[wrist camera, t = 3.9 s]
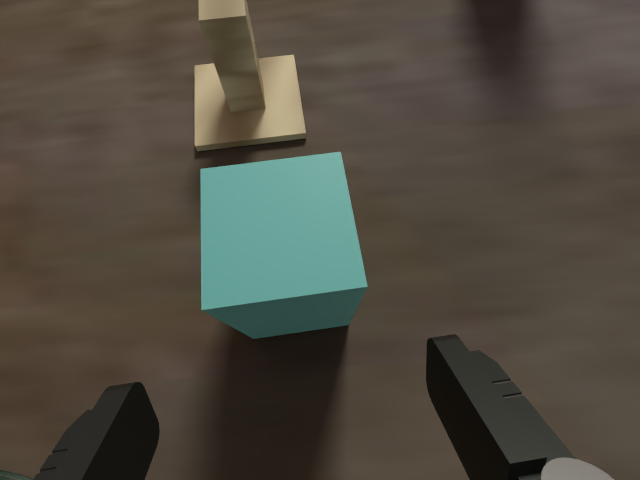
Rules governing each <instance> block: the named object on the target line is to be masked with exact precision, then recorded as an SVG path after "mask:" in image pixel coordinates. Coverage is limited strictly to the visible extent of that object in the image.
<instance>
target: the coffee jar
mask: <svg viewBox="0 0 640 480" xmlns="http://www.w3.org/2000/svg"><path fill="white" fill-rule="evenodd" d="M0 480H33V479H32V478H28V477H25V476H22V475H19V474H14V473H11V472H7V471H2V470H0Z"/></svg>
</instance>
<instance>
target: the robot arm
mask: <svg viewBox="0 0 640 480" xmlns="http://www.w3.org/2000/svg"><path fill="white" fill-rule="evenodd" d="M426 383H427V388H428V392H429V396H430V399H431V401H432V403H433V405H434V407H435V409H436V411H437V414H438V416H439V418H440V420H441V422H442V424H443V426H444V428H445V430H446V432H447V434H448V436H449V438H450V440H451V442H452V444H453V446H454V448H455V450H456V452H457V454H458V456H459V458H460V460H461V463H462V465H463V467H464V469H465V471H466V473H467V475H468V477H469V479H470V480H614V479H613V478H611V477H610V476H609V475H608V474H606V473H605V472H603V471H602V470H600V469H598V468H597V467H595V466H593V465H591V464H589V463H586V462H584V461H581V460H578V459H576V458H575V457H574V456H573V455H572V454H571V452H570V451H569V450H568V449H567V448H566V446H565V445H564V444H563V443H562V442H561V440H560V439H559V438H558V437H557V435H556V434H555V433H554V432H553V431H552V429H551V428H550V427H549V426H548V424H547V423H546V422H545V421H544V419H543V418H542V417H541V416H540V415H539V413H538V412H537V411H536V410H535V408H534V407H533V406H532V405H531V404H530V402H529V401H528V400H527V399H526V397H525V396H522V394H521V391H520V390H519V389H518V388H517V386H516V385H515V384H514V383H513V382H511V380H510V378H509V377H508V375H507V374H506V373H505V372H504V370H503V369H502V368H501V367H500V365H499V364H498V363H497V362H495V361H494V360H493V359H491V358H490V357H488V356H487V355H485V354H484V353H482V352H481V351H479V350H478V351H472V352H469V350H468V349H467V348H466V346H465V345H464V344H463V342H462V341H461V340H460V338H459V337H458V336H457V335H447V336H441V337H434V338H429V339H428V340H427V361H426ZM158 440H159V423H158V419H157V417H156V414H155V412H154V409H153V407H152V405H151V402H150V400H149V397H148V395H147V393H146V390H145V388H144V386H143V384H142V383H140V382H134V383H128V384H121V385H115V386H110V387H108V388H107V389H106V390H105V391H104V392H103V394H102V395H101V397H100V398H99V400H98V402H97V403H96V405H95V406H94V408H93V410H87V411H86V412H85V413H84V414H82V415H81V416H80V417H79V418H78V419H77V420H76V421H75V422H74V423H73V424H72V425H71V426H70V427H69V428H68V429H67V430H66V431H65V433H64V434H63V436H62V437H61V439H60V440H59V442H58V443H57V445H56V446H55V448H54V449H53V451H52V452H53V453H52V455H49V457H48V458H47V460H46V461H45V463H44V464H43V466H42V467H41V469H40V473H39V474H37V475H36V476H35V478H34V479H33V480H145V477H146V474H147V472H148V469H149V466H150V463H151V461H152V458H153V455H154V453H155V450H156V447H157V444H158Z"/></svg>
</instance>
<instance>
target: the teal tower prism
mask: <svg viewBox="0 0 640 480" xmlns="http://www.w3.org/2000/svg"><path fill="white" fill-rule="evenodd" d="M367 287H368V286H367V281H366V276H365V271H364V266H363V261H362V256H361V251H360V246H359V241H358V236H357V231H356V226H355V221H354V216H353V211H352V206H351V201H350V196H349V191H348V186H347V181H346V176H345V171H344V166H343V161H342V156H341V152H335V153H327V154H319V155H311V156H303V157H294V158H286V159H278V160H270V161H262V162H254V163H246V164H237V165H229V166H221V167H213V168H205V169H201V308H202V311H204V312H206V313H208V314H210V315H211V316H213V317H215V318H217V319H219V320H220V321H222V322H224V323H226V324H228V325H229V326H231V327H233V328H235V329H237V330H238V331H240V332H242V333H244V334H246V335H247V336H249V337H251V338H253V339H257V338H264V337H271V336H278V335H284V334H291V333H298V332H305V331H312V330H319V329H325V328H332V327H339V326H346V325H349V324H350V322H351V320H352V318H353V316H354V314H355V311H356V309H357V307H358V305H359V303H360V301H361V299H362V297H363V295H364V293H365V291H366V289H367Z"/></svg>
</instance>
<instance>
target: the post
mask: <svg viewBox="0 0 640 480" xmlns="http://www.w3.org/2000/svg"><path fill="white" fill-rule="evenodd" d="M199 22H200V25H201V28H202V31H203V33H204V36H205V39H206V42H207V45H208V48H209V51H210V54H211V56H212V59H213V62H214V63H213V64H204V65H195V148H196V149H197V151H205V150H213V149H222V148H230V147H238V146H246V145H255V144H263V143H271V142H280V141H288V140H296V139H305V138H306V131H305V124H304V118H303V111H302V105H301V99H300V92H299V86H298V79H297V73H296V66H295V60H294V55H286V56H277V57H268V58H259V59H258V55H257V51H256V46H255V41H254V36H253V31H252V26H251V21H250V16H249V11H248V7H247V2H246V0H199Z"/></svg>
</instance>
